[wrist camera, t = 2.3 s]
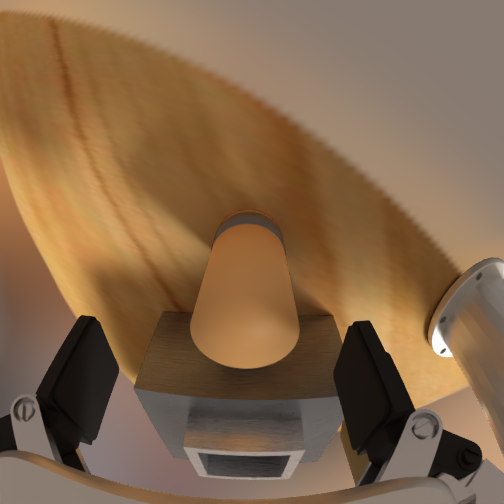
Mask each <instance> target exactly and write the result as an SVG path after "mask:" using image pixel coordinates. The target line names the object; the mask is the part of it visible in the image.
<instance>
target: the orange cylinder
mask: <svg viewBox="0 0 504 504" xmlns="http://www.w3.org/2000/svg"><path fill="white" fill-rule="evenodd" d="M190 332H191V336H192V339H193V341H194V343H195V345H196V346H197V347H198V349H199V350H200V351H201V352H202V353H203V354H204V355H206V356H207V357H208V358H210V359H212V360H213V361H215V362H217V363H220V364H222V365H225V366H229V367H234V368H243V369H250V368H259V367H264V366H267V365H270V364H273V363H275V362H277V361H279V360H281V359H282V358H284V357H285V356H286V355H288V354H289V353H290V352H291V350H292V349H293V348H294V346H295V345H296V343H297V341H298V338H299V332H300V328H299V321H298V316H297V311H296V305H295V300H294V295H293V290H292V285H291V280H290V275H289V270H288V265H287V261H286V252H285V247H284V243H283V238H282V234H281V232H280V229H279V227H278V226H277V224H276V223H275V221H274V220H273V219H272V218H271V217H269V216H268V215H266V214H264V213H262V212H259V211H256V210H242V211H238V212H235V213H233V214H231V215H230V216H228V217H227V218H226V219H225V220H224V221H223V222H222V223H221V225H220V227H219V228H218V230H217V233H216V236H215V239H214V242H213V245H212V248H211V254H210V258H209V261H208V264H207V267H206V271H205V274H204V277H203V281H202V284H201V288H200V291H199V294H198V298H197V301H196V305H195V308H194V312H193V315H192V319H191V324H190Z"/></svg>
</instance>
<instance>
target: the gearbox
mask: <svg viewBox="0 0 504 504" xmlns="http://www.w3.org/2000/svg"><path fill="white" fill-rule="evenodd" d="M192 315H193V313H177V312H163V313H162V315H161V318H160V320H159V323H158V325H157V328H156V330H155V332H154V335H153V337H152V340H151V343H150V345H149V348H148V350H147V353H146V355H145V358H144V361H143V363H142V366H141V369H140V371H139V374H138V377H137V380H136V382H135V385H134V390H135V392H136V394H137V396H138V398H139V400H140V402H141V404H142V405H143V408H144V409H145V411H146V413H147V415H148V417H149V418H150V420H151V422H152V424H153V425H154V427H155V429H156V430H157V432H158V434H159V435H160V437H161V439H162V440H163V442H164V443H165V445H166V446H167V448H168V450H169V451H170V453H171V454H172V456H173V457H174V458H181V459H187V460H190V461H191V462H192V464H193V466H194V468H195V469H196V471H197V473H198V475H199V476H202V477H211V478H224V479H246V480H247V479H248V480H254V479H255V480H265V479H266V480H270V479H290V477H291V475H292V474H293V472H294V470H295V468H296V467H297V465H298V463H302V462H314V461H317V460H318V459H319V457H320V456H321V454H322V453H323V452H324V450H325V449H326V447H327V446H328V444H329V443H330V441H331V439H332V438H333V436H334V435H335V433H336V432H337V430H338V428H339V427H340V425H341V423H342V422H343V420H344V415H343V412H342V408H341V404H340V400H339V397H338V393H337V389H336V386H335V382H334V378H333V371H334V368H335V365H336V363H337V360H338V357H339V354H340V351H341V348H342V345H343V343H342V340H341V337H340V334H339V331H338V328H337V325H336V322H335V320H334V317H333V315H331V316H298V321H299V328H300V332H299V338H298V341H297V343H296V345H295V346H294V348H293V349H292V350H291V352H290V353H289V354H288V355H286V356H285V357H284V358H282V359H281V360H279V361H277V362H275V363H273V364H270V365H267V366H264V367H259V368H250V369H243V368H234V367H229V366H225V365H222V364H220V363H217V362H215V361H213V360H212V359H210V358H208V357H207V356H206V355H204V354H203V353H202V352H201V351H200V350H199V349H198V347H197V346H196V345H195V343H194V341H193V339H192V336H191V332H190V324H191V319H192Z"/></svg>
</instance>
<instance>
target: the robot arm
mask: <svg viewBox="0 0 504 504" xmlns="http://www.w3.org/2000/svg"><path fill="white" fill-rule="evenodd" d="M428 341H429V344H430V346H431V348H432V349H433V351H434V352H435V354H437V355H438V356H442V357H452V356H453V357H454V358H455V360H456V362H457V363H458V365H459V367H460V368H461V370H462V372H463V374H464V375H465V377H466V379H467V381H468V383H469V384H470V386H471V388H472V390H473V392H474V394H475V395H476V397H477V399H478V401H479V403H480V405H481V407H482V409H483V411H484V413H485V415H486V417H487V420H488V422H489V424H490V426H491V428H492V430H493V432H494V435H495V437H496V440H497V442H498V444H499V447H500V449H501V451H502V454H503V456H504V261H503V260H501V259H499V258H488V259H485V260H483V261H481V262H479V263H477V264H475V265H474V266H472V267H471V268H470V269H468V270H467V271H466V272H465V273H464V274H463V275H461V276H460V277H459V278H458V279H457V281H456V282H455V283H454V284H453V285H452V286H451V287H450V289H449V290H448V291H447V293H446V294H445V295H444V297H443V298H442V300H441V301H440V303H439V305H438V306H437V308H436V310H435V312H434V315H433V317H432V319H431V322H430V325H429V331H428ZM118 373H119V366H118V364H117V361H116V359H115V357H114V355H113V353H112V350H111V348H110V346H109V343H108V341H107V339H106V336H105V334H104V331H103V329H102V326H101V324H100V322H99V321H97V319H96V318H95V317H93V316H85V315H81V316H80V317H79V318H78V320H77V321H76V323H75V325H74V326H73V328H72V329H71V331H70V333H69V334H68V336H67V337H66V339H65V341H64V342H63V344H62V346H61V348H60V349H59V351H58V353H57V354H56V356H55V358H54V360H53V362H52V363H51V365H50V367H49V369H48V371H47V372H46V374H45V376H44V378H43V380H42V382H41V384H40V386H39V388H38V390H37V392H36V394H37V396H36V398H35V397H33V396H32V395H29V394H24V395H21V396H19V397H17V398H16V399H15V400H14V402H13V403H12V406H11V414H9V415H7V416H5V417H2V418H0V504H504V473H503V472H502V471H500V470H499V469H498V468H497V467H496V466H494V465H493V464H492V463H491V462H490V461H489V460H487V459H484V460H483V459H482V452H481V449H480V447H479V446H478V445H477V444H476V443H474V442H472V441H470V440H467V439H465V438H462V437H460V436H458V435H455V434H452V433H451V432H448V431H446V430H444V429H443V425H442V421H441V419H440V417H439V416H438V415H437V414H436V413H435V412H433V411H431V410H428V409H419V410H417V411H416V410H415V408H414V406H413V403H412V401H411V399H410V396H409V394H408V392H407V390H406V388H405V385H404V383H403V381H402V379H401V377H400V374H399V372H398V370H397V368H396V366H395V364H394V362H393V360H392V358H391V356H390V354H389V353H387V352H385V350H384V348H383V346H382V343H381V341H380V339H379V337H378V335H377V333H376V331H375V329H374V328H373V326H372V324H371V322H370V321H369V320H367V321H355V322H354V323H353V325H352V326H349V327H348V330H347V333H346V336H345V339H344V342H343V345H342V348H341V351H340V354H339V357H338V360H337V363H336V365H335V368H334V371H333V378H334V382H335V386H336V389H337V393H338V397H339V400H340V404H341V408H342V412H343V415H344V419H345V423H346V427H347V431H348V435H349V439H350V443H351V447H352V449H353V450H356V451H357V455H358V456H359V455H364V454H367V455H368V459H369V461H370V462H369V464H368V466H367V467H366V469H365V471H364V473H363V474H362V476H361V478H360V479H359V481H358V483H357V484H356V486H355V487H354V488H350V489H345V490H340V491H334V492H329V493H322V494H315V495H309V496H300V497H290V498H280V499H279V498H278V499H257V500H232V499H212V498H200V497H190V496H182V495H175V494H168V493H162V492H156V491H152V490H147V489H142V488H137V487H133V486H129V485H125V484H121V483H117V482H114V481H110V480H107V479H104V478H101V477H98V476H95V475H91V473H90V471H89V469H88V467H87V465H86V463H85V461H84V458H83V456H82V454H81V452H80V449H79V447H78V446H79V443H80V442H83V443H86V444H89V445H92V441H93V440H95V439H96V438H97V435H98V432H99V429H100V426H101V422H102V419H103V416H104V413H105V410H106V407H107V404H108V401H109V398H110V396H111V393H112V390H113V387H114V384H115V382H116V379H117V376H118Z"/></svg>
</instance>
